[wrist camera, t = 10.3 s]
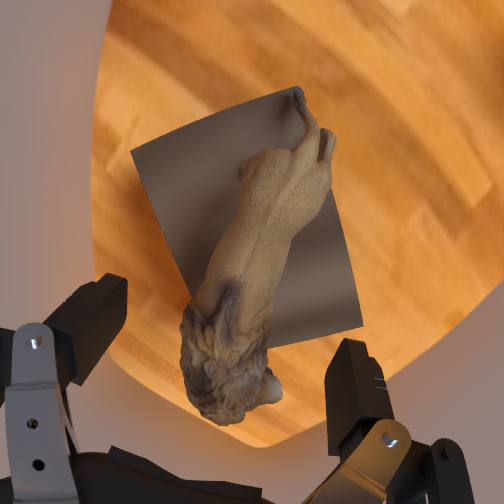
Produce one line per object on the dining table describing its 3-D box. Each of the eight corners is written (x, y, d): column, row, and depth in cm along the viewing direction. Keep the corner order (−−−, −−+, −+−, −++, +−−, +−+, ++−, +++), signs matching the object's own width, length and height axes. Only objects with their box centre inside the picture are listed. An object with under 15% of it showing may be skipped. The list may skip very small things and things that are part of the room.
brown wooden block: (176, 141, 24) (130, 150, 17) (295, 98, 22) (297, 85, 14) (238, 299, 29) (222, 357, 22) (346, 272, 27) (363, 326, 19)
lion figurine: (281, 334, 20) (272, 451, 12) (202, 316, 20) (156, 423, 12) (345, 100, 14) (404, 76, 6) (243, 78, 15) (192, 31, 6)
